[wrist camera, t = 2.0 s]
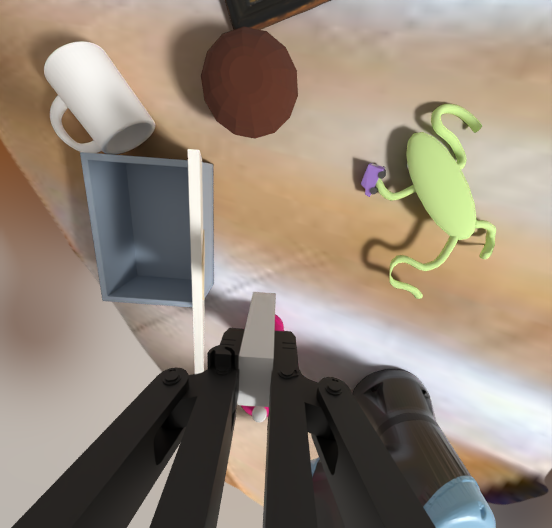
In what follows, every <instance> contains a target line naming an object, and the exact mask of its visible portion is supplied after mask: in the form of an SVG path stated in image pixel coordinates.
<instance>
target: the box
mask: <svg viewBox="0 0 552 528" xmlns="http://www.w3.org/2000/svg"><path fill="white" fill-rule="evenodd" d="M80 155H81V162H82V169H83V175H84V182H85V188H86V195H87V201H88V208H89V215H90V221H91V228H92V234H93V241H94V248H95V254H96V261H97V267H98V274H99V280H100V287H101V294H102V300H103V301H111V302H125V303H139V304H153V305H167V306H181V307H193V301H192V270H191V239H190V208H189V177H188V160H176V159H163V158H150V157H137V156H124V155H111V154H97V153H84V152H80ZM202 188H203V229H204V234H205V274H204V299H205V297H206V296H207V294H208V292H209V291H210V289H211V287H212V286H213V284H214V222H213V164H209V163H204V162H202Z"/></svg>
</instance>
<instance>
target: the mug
mask: <svg viewBox="0 0 552 528" xmlns="http://www.w3.org/2000/svg"><path fill="white" fill-rule="evenodd" d="M44 75H45V77H46V79H47V81H48V82H49V84H50V85H51V86H52V87H53V89H54V90H55V91H56V93H57V94H58V96H57V97H56V98H55V100H54V101H53V103H52V106H51V109H50V120H51V124H52V127H53V129H54V131H55V132H56V134H57V135H58V136H59V137H60V138H61V139H62V140H63V141H64V142H65V143H66V144H67V145H69V146H70V147H72V148H73V149H75V150H77V151H79V152H84V153H98V152H100V151H103V152H104V153H106V154H111V155H116V154H121V153H125V152H127V151H130V150H132V149H134V148H136V147H137V146H139V145H140V144H142V143H143V142H145V141H146V140H147V139H148V138H149V137H150V136H151V134H152V133H153V131H154V129H155V122H154V120H153V119H152V117H151V116H150V115H149V113H148V112H147V110H146V109H145V108H144V106H143V105H142V103H141V102H140V100H139V99H138V98H137V96H136V95H135V93H134V92H133V90H132V89H131V88H130V86H129V85H128V83H127V82H126V81H125V79H124V78H123V76H122V75H121V73H120V72H119V71H118V69H117V68H116V66H115V65H114V63H113V62H112V61H111V59H110V58H109V56H108V55H107V54H106V52H105V51H104V50H103V49H102V48H101V47H100V46H98V45H96V44H94V43H91V42H84V41H79V42H72V43H68V44H66V45H63V46H61V47H59V48H58V49H56V50H55V51H54V52H53V53H52V54H51V55H50V56H49V57H48V59H47V60H46V63H45V66H44ZM67 108H69V109H70V110H71V112H72V113H73V114H74V116H75V117H76V118H77V119H78V121H79V122H80V123H81V124H82V126H83V127H84V128H85V130H86V131H87V132H88V133H89V135H90V136H91V137H92V139H93V141H91V142H89V143H84V144H81V143H77V142H76V141H74V140H73V139H72V138H71V137H70V136H69V135H68V133H67V132H66V131H65V129H64V128H63V125H62V116H63V114H64V112H65V111H66V110H67Z"/></svg>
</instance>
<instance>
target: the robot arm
mask: <svg viewBox="0 0 552 528" xmlns="http://www.w3.org/2000/svg"><path fill="white" fill-rule="evenodd" d="M275 297H276V294H274V293H260V292H253V295H252V300H251V304H250V309H249V313H248V318H247V322H246V327H245V329H237V328H229V329H228V330H227V331H226V332H224V334H223V337H222V340H221V343H220V345H218V346H215V347H213V348H212V349H210V350H209V352H208V369H207V370H206V371H204V372H202V373H198V374H193V375H188V373H187V371H186V370H184V369H182V368H170V369H167V370H165V371H163V372H162V373H160V374H159V375H158V376H157V377H156V378H155V379H154V380H153V381H152V382H151V383H150V384H149V385H148V386H147V387H146V388H145V389H144V390H143V391H142V392H141V393H140V394H139V396H138V397H137V398H136V399H135V400H134V401H133V402H132V403H131V404H130V405H129V406H128V407H127V408H126V409H125V410H124V411H123V412H122V413H121V414H120V415H119V416H118V417H117V418H116V419H115V421H113V423H112V424H111V425H110V426H109V427H108V428H107V429H106V430H105V431H104V432H103V433H102V434H101V435H100V436H99V437H98V438H97V439H96V440H95V441H94V442H93V443H92V444H91V445H90V446H89V448H88V449H87V450H86V451H85V452H84V453H83V454H82V455H81V456H80V457H79V458H78V459H77V460H76V461H75V462H74V463H73V464H72V465H71V466H70V468H68V469H67V470H66V471H65V472H64V473H63V475H62V476H61V477H60V478H59V479H58V480H57V481H56V482H55V483H54V484H53V485H52V486H51V487H50V488H49V489H48V490H47V491H46V492H45V493H44V494H43V495H42V496H41V497H40V498H39V499H38V500H37V502H36V503H35V504H34V505H33V506H32V507H31V508H30V509H29V510H28V511H27V512H26V513H25V514H24V515H23V516H22V517H21V518H20V519H19V520H18V521H17V522H16V523H15V524H14V525H13V527H11V528H127V526H128V525H129V523H130V522H131V520H132V518H133V517H134V515H135V514H136V512H137V510H138V509H139V507H140V506H141V504H142V503H143V501H144V499H145V498H146V496H147V494H148V493H149V492H150V490H151V488H152V487H153V485H154V484H155V482H156V480H157V479H158V477H159V476H160V474H161V472H162V471H163V469H164V468H165V466H166V465H167V463H168V461H169V460H170V458H171V457H172V455H173V453H174V452H175V450H176V449H177V447H178V445H179V444H180V446H179V449H178V451H177V454H176V457H175V459H174V463H173V465H172V468H171V471H170V473H169V476H168V479H167V481H166V484H165V487H164V489H163V492H162V495H161V498H160V500H159V503H158V506H157V509H156V511H155V514H154V517H153V519H152V523H151V525H150V528H216V526H217V520H218V515H219V509H220V503H221V498H222V492H223V486H224V481H225V475H226V470H227V464H228V458H229V453H230V447H231V441H232V436H233V430H234V424H235V419H236V406H237V405H244V406H259V407H269V414H268V426H267V430H268V432H267V452H266V472H265V492H264V513H263V528H496V524H495V518H494V515H493V513H492V511H491V509H490V507H489V505H488V504H487V502H486V500H485V498H484V497H483V495H482V493H481V492H480V490H479V486H478V484H477V482H476V481H475V479H474V478H473V477H472V476H471V475H470V473H469V472H468V470H467V469H466V467H465V466H464V464H463V463H462V461H461V459H460V458H459V456H458V455H457V453H456V452H455V450H454V449H453V447H452V446H451V444H450V442H449V441H448V439H447V438H446V436H445V435H444V433H443V432H442V430H441V429H440V427H439V425H438V424H437V422H436V418H435V414H434V411H433V407H432V403H431V399H430V395H429V393H428V391H427V390H426V388H425V387H424V385H423V384H422V382H421V381H420V380H419V379H418V378H417V377H416V376H415V375H413V374H411V373H409V372H406V371H403V370H396V369H389V370H382V371H378V372H376V373H373V374H371V375H369V376H367V377H366V378H364V379H363V380H362V381H361V382H360V383H359V384H358V385H357V386H356V388H355V390H354V392H353V394H352V392H351V391H350V389H349V388H348V386H347V385H346V384H345V383H344V382H343V381H341V380H339V379H337V378H333V377H327V378H323V379H322V380H321V381H319V383H317V382H314V381H311V380H309V379H307V378H306V377H304V376H303V375H302V374H301V372H300V370H299V367H298V357H297V347H296V337H295V336H294V334H293V333H292V332H290V331H275V330H274V329H275ZM308 432H309V433H311V435H312V439H313V442H314V444H315V447H316V450H317V452H318V455H319V457H318V458H317V459H313V460H310V451H309V442H308ZM180 442H181V443H180Z"/></svg>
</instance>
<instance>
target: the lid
mask: <svg viewBox="0 0 552 528" xmlns="http://www.w3.org/2000/svg"><path fill="white" fill-rule="evenodd" d="M188 177H189V208H190V239H191V270H192V301H193V333H194V364H195V374H198V373H202V372H204V274H205V234H204V229H203V188H202V157H201V154H200V151H199V150H192V149H188Z"/></svg>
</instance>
